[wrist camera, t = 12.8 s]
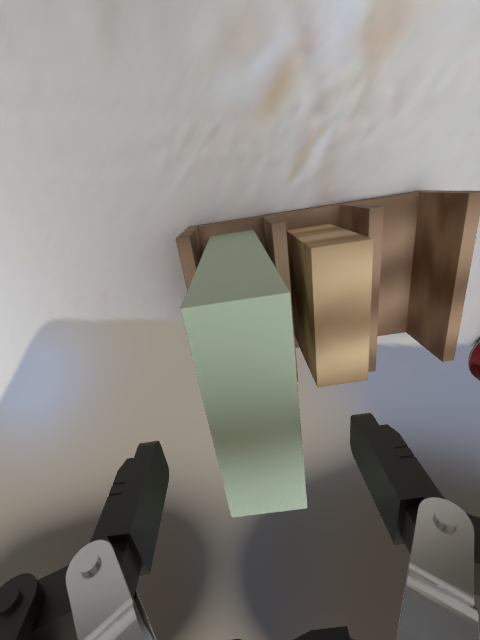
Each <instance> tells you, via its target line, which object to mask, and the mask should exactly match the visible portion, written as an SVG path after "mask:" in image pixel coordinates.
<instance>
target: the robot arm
mask: <svg viewBox="0 0 480 640" xmlns="http://www.w3.org/2000/svg"><path fill="white" fill-rule="evenodd" d="M350 444H351V450H352V454H353V457H354V459H355V460H356V463H357V465H358V468H359V470H360V472H361V474H362V476H363V478H364V480H365V483H366V485H367V487H368V489H369V491H370V493H371V496H372V498H373V500H374V502H375V504H376V506H377V508H378V511H379V513H380V515H381V517H382V519H383V522H384V524H385V526H386V528H387V530H388V532H389V534H390V537H391V539H392V541H393V543H394V545H398V544H405V545H406V547H407V549H408V551H409V553H410V559H409V565H408V572H407V578H406V584H405V591H404V597H403V603H402V609H401V615H400V621H399V627H398V633H397V640H479V621H478V611H477V608H475V606H474V594H475V595H478V596H480V517H476V516H472V515H469V514H467V513H465V512H464V511H463V510H462V509H460V508H459V507H458V506H457V505H455V504H453V503H451V502H450V501H448V500H446V499H445V498H444V497H443V496H442V494H441V493H440V492H439V490H438V489H437V488H436V486H435V484H434V483H433V482H432V480H431V479H430V477H429V476H428V474H427V473H426V471H425V470H424V469H423V467H422V466H421V464H420V463H419V461H418V460H417V458H416V457H414V455H413V453H412V451H411V450H410V448H408V446H407V444H406V443H405V441H404V440H403V438H402V437H401V436H400V434H399V433H398V432H397V431H395V430H394V429H393V428H391V427H390V426H389V425H379V424H378V423H377V421H376V419H375V418H374V416H373V415H372V414H371V413H365V414H358V415H352V416H351V426H350ZM168 482H169V468H168V465H167V462H166V459H165V456H164V453H163V450H162V447H161V444H160V442H159V441H154V442H147V443H140V444H139V446H138V448H137V451H136V454H135V457H134V458H129V459H127V460H126V461H125V462H124V464H123V465H122V466H121V467H120V469H119V470H118V472H117V475H116V477H115V480H114V482H113V486H112V488H111V490H110V493H109V497H108V498H107V500H106V503H105V506H104V508H103V511H102V513H101V516H100V519H99V521H98V524H97V526H96V529H95V532H94V534H93V537H92V539H91V542H90V543H89V544H88V545H86V546H85V547H83V548H82V549H81V550H80V551H79V552H78V553H77V554H76V555H75V557H74V558H73V559H72V561H71V563H70V564H69V565H68V566H66V567H64V568H62V569H60V570H58V571H56V572H54V573H52V574H50V575H47V576H45V577H43V578H41V579H39V580H37V579H36V578H35V577H34V576H33V575H32V574H28V573H26V574H20V575H18V576H16V577H14V578H12V579H10V580H9V581H8V582H6V583H5V584H4V585H3V586H1V587H0V640H156V638H155V635H154V633H153V630H152V628H151V626H150V623H149V620H148V618H147V615H146V613H145V610H144V608H143V605H142V603H141V601H140V598H139V595H138V593H137V591H136V588H137V584H138V579H139V575H146V574H150V571H151V566H152V562H153V557H154V552H155V547H156V542H157V537H158V532H159V527H160V521H161V517H162V511H163V506H164V502H165V497H166V492H167V487H168ZM235 640H241V639H235ZM294 640H355V639H351V638H350V636H349V632H348V628H347V626H344V627H336V628H327V629H319V630H311V631H309V632H307V633H306V634H303V635H302V636H300V637H298V638H296V639H294Z"/></svg>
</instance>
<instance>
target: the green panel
mask: <svg viewBox="0 0 480 640" xmlns="http://www.w3.org/2000/svg"><path fill="white" fill-rule="evenodd" d="M180 310H181V314H182V318H183V322H184V326H185V330H186V334H187V338H188V342H189V346H190V350H191V354H192V358H193V362H194V366H195V371H196V375H197V378H198V383H199V387H200V391H201V395H202V399H203V403H204V407H205V411H206V415H207V419H208V423H209V427H210V431H211V435H212V439H213V443H214V447H215V452H216V455H217V460H218V464H219V468H220V472H221V476H222V480H223V483H224V488H225V492H226V496H227V500H228V504H229V508H230V512H231V516H232V517H240V516H248V515H256V514H263V513H272V512H280V511H287V510H295V509H302V508H303V509H304V508H307V498H306V486H305V473H304V460H303V449H302V436H301V423H300V412H299V411H300V410H299V398H298V386H297V373H296V360H295V347H294V335H293V322H292V310H291V297H290V291H289V290H288V288H287V286H286V285H285V283H284V281H283V279H282V278H281V276H280V274H279V273H278V271H277V269H276V268H275V266H274V264H273V262H272V261H271V259H270V257H269V256H268V254H267V252H266V250H265V249H264V247H263V245H262V244H261V242H260V240H259V239H258V237H257V235H256V233H255V232H254V230H247V231H241V232H234V233H228V234H221V235H215V236H210V238H209V240H208V243H207V245H206V248H205V250H204V253H203V255H202V257H201V260H200V262H199V265H198V267H197V269H196V272H195V274H194V277H193V279H192V282H191V284H190V286H189V289H188V291H187V294H186V296H185V299H184V301H183V303H182V306H181V308H180Z"/></svg>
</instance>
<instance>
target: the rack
mask: <svg viewBox="0 0 480 640" xmlns="http://www.w3.org/2000/svg"><path fill="white" fill-rule="evenodd" d="M479 216H480V191H414V192H408V193H402V194H395V195H389V196H382V197H376V198H370V199H363V200H357V201H350V202H344V203H338V204H331V205H325V206H318V207H312V208H306V209H299V210H293V211H286V212H280V213H274V214H267V215H261V216H254V217H248V218H242V219H235V220H229V221H222V222H216V223H210V224H203V225H197V226H190V227H188V228H187V229H186V230H185V231H184V232H183V233H181V234H180V235H179V236H178V237H177V238H176V243H177V247H178V251H179V256H180V260H181V264H182V269H183V273H184V278H185V282H186V286H187V291H188V289H189V286H190V284H191V282H192V279H193V277H194V274H195V272H196V269H197V267H198V265H199V262H200V260H201V257H202V255H203V253H204V250H205V248H206V245H207V243H208V240H209V238H210V236H215V235H221V234H228V233H234V232H241V231H247V230H254V232H255V233H256V235H257V237H258V239H259V240H260V242H261V244H262V245H263V247H264V249H265V250H266V252H267V254H268V256H269V257H270V259H271V261H272V262H273V264H274V266H275V268H276V269H277V271H278V273H279V274H280V276H281V278H282V279H283V281H284V283H285V285H286V286H287V288H288V290H289V291H290V297H291V310H292V322H293V309H292V296H291V284H290V271H289V258H288V245H287V232H286V230H292V229H299V228H305V227H312V226H318V225H325V224H332V225H335V226H338V227H341V228H344V229H346V230H349V231H352V232H355V233H358V234H361V235H364V236H367V237H370V238H373V239H374V240H373V265H372V290H371V315H370V340H369V366H368V372H372V371H375V367H376V348H377V336H381V335H388V334H395V333H402V332H406V333H408V334H409V335H410V336H411V337H413V338H414V339H415V340H416V341H418V342H419V343H420V344H421V345H423V346H424V347H425V348H426V349H427V350H429V351H430V352H431V353H432V354H434V355H435V356H436V357H437V358H439V359H440V360H441V361H442V362H444V361H451V360H454V356H455V350H456V345H457V339H458V334H459V328H460V323H461V317H462V311H463V306H464V300H465V294H466V289H467V283H468V278H469V272H470V266H471V261H472V255H473V250H474V244H475V238H476V233H477V227H478V222H479ZM293 335H294V322H293ZM294 347H295V348H296V347H299V345H298V342H297V340H296V338H295V335H294ZM295 360H296V350H295ZM296 363H297V362H296ZM296 373H297V364H296ZM297 382H298V375H297Z"/></svg>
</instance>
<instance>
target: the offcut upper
mask: <svg viewBox="0 0 480 640" xmlns="http://www.w3.org/2000/svg"><path fill="white" fill-rule="evenodd" d="M373 240H374V239H373V238H370V237H367V236H364V235H361V234H358V233H355V232H352V231H349V230H344V231H337V232H331V233H324V234H318V235H311V236H305V237H298V238H297V253H298V269H299V284H300V299H301V315H302V330H303V346H304V358H305V360H306V362H307V365H308V367H309V369H310V372H311V374H312V376H313V378H314V380H315V383H316V385H317V387H322V386H329V385H337V384H344V383H351V382H358V381H365V380H368V366H369V340H370V315H371V290H372V265H373Z"/></svg>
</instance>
